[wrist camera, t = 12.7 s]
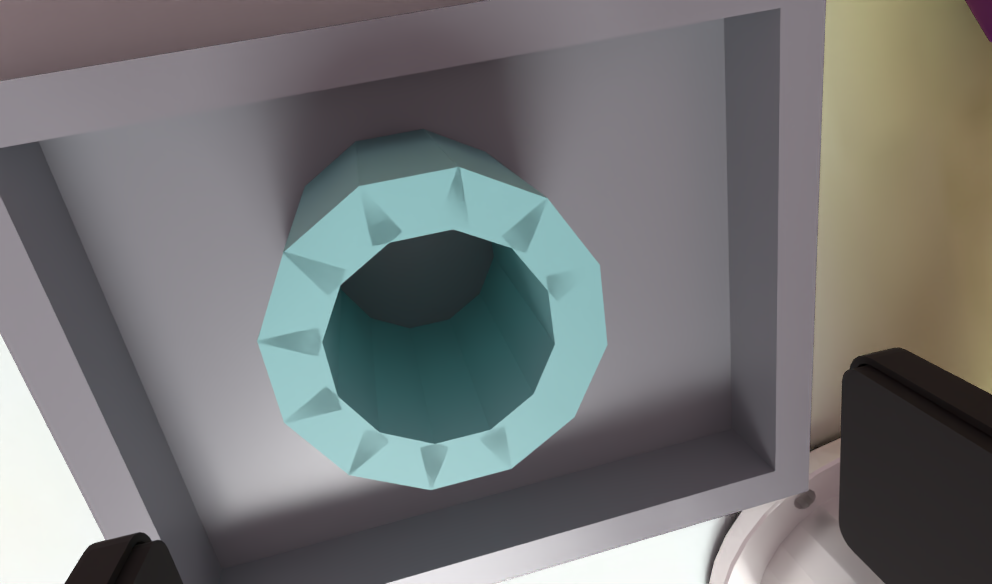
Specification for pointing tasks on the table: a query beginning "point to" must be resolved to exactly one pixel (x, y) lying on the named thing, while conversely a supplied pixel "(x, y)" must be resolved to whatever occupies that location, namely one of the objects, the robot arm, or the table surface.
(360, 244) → the ring
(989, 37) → the perfume bottle
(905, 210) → the table surface
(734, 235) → the tray
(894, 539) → the robot arm
